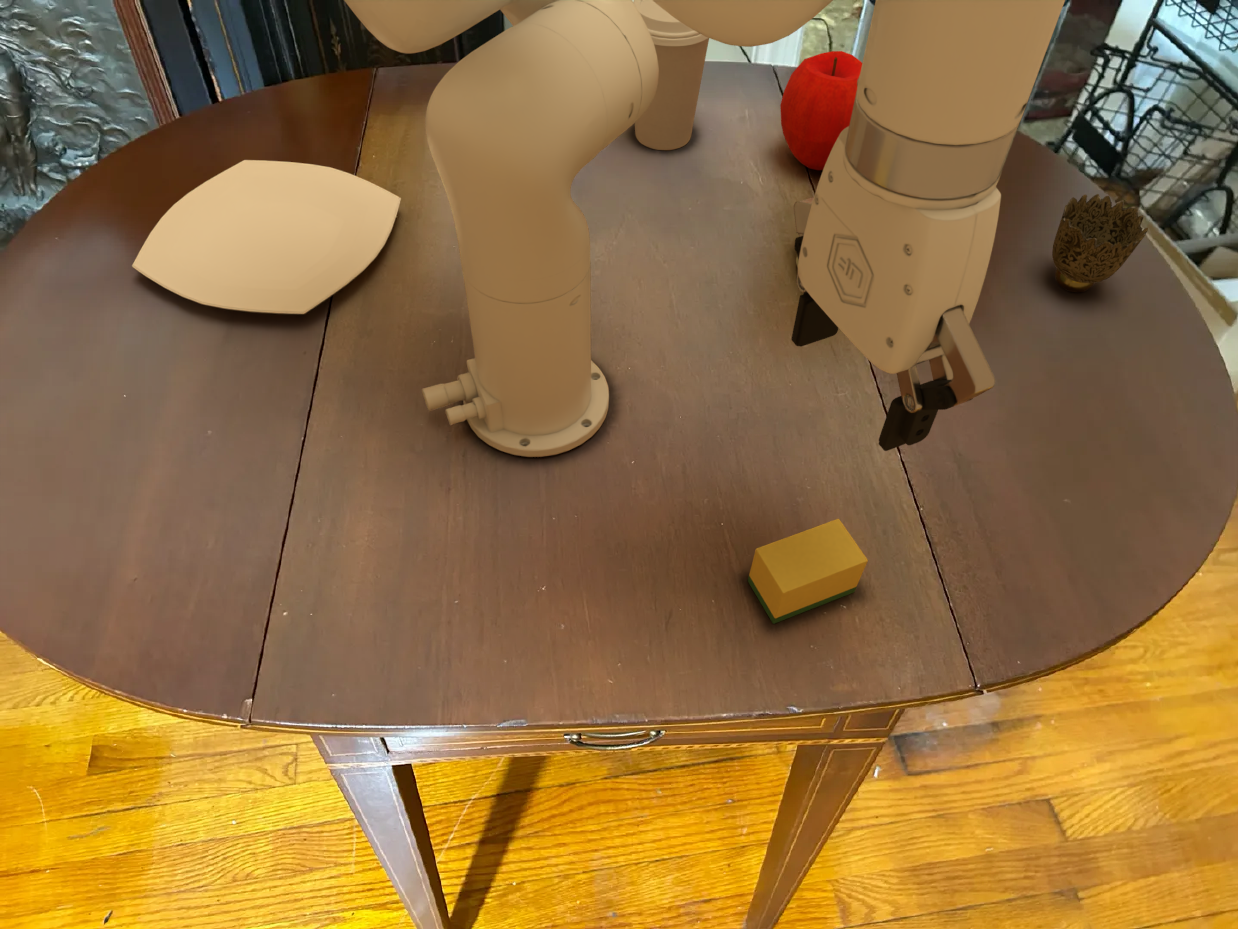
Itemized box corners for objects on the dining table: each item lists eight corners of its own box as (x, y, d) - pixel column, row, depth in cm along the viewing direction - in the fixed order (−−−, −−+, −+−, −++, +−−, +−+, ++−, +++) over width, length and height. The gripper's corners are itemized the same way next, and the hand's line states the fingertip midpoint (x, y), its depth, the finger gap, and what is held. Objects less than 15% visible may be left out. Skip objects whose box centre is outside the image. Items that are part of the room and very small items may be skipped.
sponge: (773, 624, 66) (783, 593, 63) (747, 580, 69) (755, 548, 65) (854, 592, 68) (868, 560, 65) (826, 551, 71) (838, 517, 67)
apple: (788, 127, 107) (807, 24, 98) (869, 149, 105) (897, 45, 95) (759, 170, 102) (776, 66, 92) (844, 195, 99) (870, 90, 90)
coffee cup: (718, 128, 107) (733, -3, 95) (678, 167, 102) (689, 34, 90) (649, 103, 110) (655, -26, 98) (606, 140, 105) (607, 8, 93)
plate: (243, 160, 101) (238, 144, 99) (432, 205, 96) (429, 189, 95) (105, 289, 87) (96, 273, 86) (317, 349, 83) (312, 333, 81)
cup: (1114, 313, 88) (1154, 247, 82) (1036, 302, 89) (1070, 235, 83) (1105, 265, 93) (1142, 198, 86) (1030, 254, 94) (1062, 187, 87)
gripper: (767, 72, 47) (735, 319, 61) (980, 263, 38) (886, 508, 51) (887, 43, 49) (830, 288, 63) (1119, 217, 40) (993, 465, 53)
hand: (855, 386), depth 57 cm, fingers open, 9 cm apart
